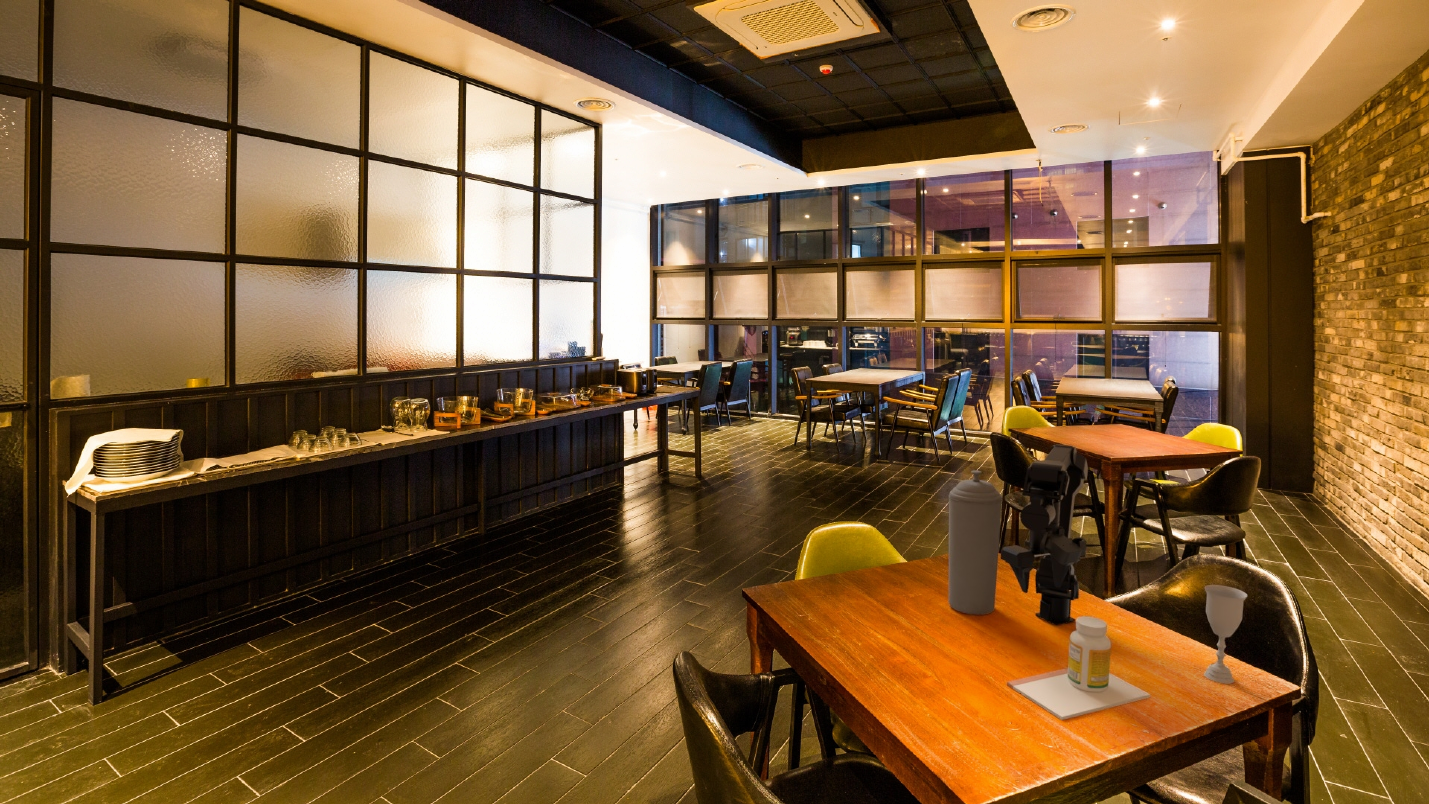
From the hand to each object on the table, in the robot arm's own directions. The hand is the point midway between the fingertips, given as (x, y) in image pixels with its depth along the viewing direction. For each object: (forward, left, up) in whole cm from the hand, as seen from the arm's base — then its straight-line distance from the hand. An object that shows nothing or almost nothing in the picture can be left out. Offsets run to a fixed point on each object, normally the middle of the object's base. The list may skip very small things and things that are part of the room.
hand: (1041, 589), depth 158 cm
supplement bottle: (+5, +17, -13) cm, 22 cm away
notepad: (+8, +18, -13) cm, 24 cm away
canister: (-1, -23, -13) cm, 27 cm away
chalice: (-23, +24, -13) cm, 36 cm away
